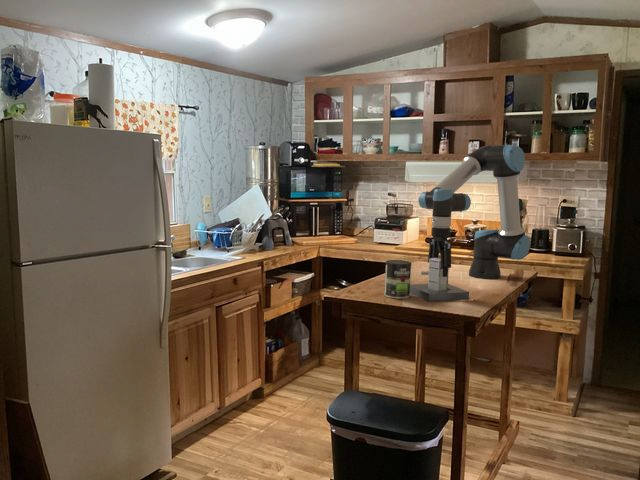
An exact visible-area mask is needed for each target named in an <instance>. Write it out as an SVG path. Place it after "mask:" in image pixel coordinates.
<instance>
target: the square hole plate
mask: <svg viewBox="0 0 640 480" xmlns="http://www.w3.org/2000/svg"><path fill="white" fill-rule="evenodd" d="M410 294H412V295H414V296H416V297H419V298H421V299H423V300H425V301H427V302H429V303H430V302H432V301H433V302H444V301H445V302H446V301H447V302H449V301H462V300H463V301H464V300H469V299H470V291H468V290H466V289H463V288H460V287H458V286H454V285H452V284H449V283H448V290H441V291H433V290H431V289H429V288H428V283H415V284H410ZM433 302H432V303H433Z"/></svg>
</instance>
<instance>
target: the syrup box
mask: <svg viewBox="0 0 640 480" xmlns="http://www.w3.org/2000/svg"><path fill="white" fill-rule="evenodd" d="M441 267H442V265H441V257H439V256H438V258H430V259H429V263H428V271H429V275H428V283H427V284H428V288H429V289H431V290H433V291H441V290H448V284H449V269H450V268H448V270H447V284H445V285H440V268H441Z"/></svg>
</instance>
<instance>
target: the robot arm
mask: <svg viewBox="0 0 640 480" xmlns="http://www.w3.org/2000/svg"><path fill="white" fill-rule="evenodd" d="M525 164H526V156H525V153H524V150H523V149H522V148H521V147H520V146H519V145H515V144H514V145H513V144H496V145H493V144H491V145H490V144H488V145H484V146H481V147H478V148H477V149H475V150H474V151H472V152H470V153H469V154H468V155H466V156H465V157H464V158H463V160H462V161H461V163H460V165H458V166H457V167H456V168H455V169H454V170H453V171H451V172H450V173H449V174H448V175H447V176H446V177H445V178H444V179H442V180H441V181H440V182H439V183H438V184H437V185H435V187H433V188H432V189H431V190H430V191H427V190H426V191H422V192H421V193H420V194H419V196H418V199H417V200H418V202H417V203H418V205H419V207H420V208H421V209H425V210H426V209H427V210H432V216H431V218H432V219H431V225H432V227H431V236H432V237H433V239H429V247H428V256H427V263H428V264H429V259H430V258H439V256H440V258H441V265H442V267H441V268H440V285H445V284H447V270H448V268H449V269H451V268H452V247H453V244H452V243H450V242H449V241H448V240H449V239H448V238H450V237H451V227H452V212H454V213H456V212H459V213H462V212H465V211H467V210H469V209H470V207H471V204H472V199H471V197H470V196H469V195H468V194H466V193H463V192H459V193H456V192H457V191H458V190H459V189H460V188H461V187H462V186H463V185H465V183H466V182H468V181H469V180H470V179H471V178H472V177H473V176H476V175H478V174H480V173H482V172H486V171H489V172H493V177H494V179H496V180H497V181H496V182H497V193H498V206H499V215H500V228H499V229H481V230H480V229H479V230H476V231H475V234H474V238H473V241H474V242H473V244H474V245H473V259H472V263H471V264H470V266H469V267H470V268H469V269H468V275H469V276H470V277H473V278H477V279H487V280H490V279H496V280H497V279H500V278H501V277H502V276H501V275H502V271H501V269H500V264H499V258H503V259H510V260H512V261H513V260H517V261H520V260H523V259H525V258H526V257H527V256H528V253H529V252H530V248H531V238H530V237H529V236H528V235H525V229H524V228H523V227H521V217H520V215H521V214H520V200H519V198H520V197H519V187H518V186H519V185H518V177H519V176H520V175H521V171H522V170H524V168H525Z"/></svg>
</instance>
